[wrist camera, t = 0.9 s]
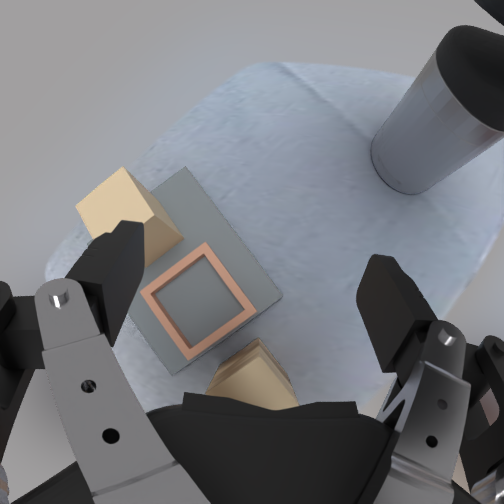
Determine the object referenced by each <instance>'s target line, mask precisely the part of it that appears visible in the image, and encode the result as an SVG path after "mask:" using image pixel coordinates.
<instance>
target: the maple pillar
mask: <svg viewBox="0 0 504 504" xmlns="http://www.w3.org/2000/svg"><path fill="white" fill-rule="evenodd" d="M206 395H211V396H220V397H229V398H232V399H235V400H239V401H242V402H245V403H249V404H252V405H256V406H259V407H263V408H267V409H271V410H281V409H287V408H292V407H296V406H300V405H299V403H298V400H297V398H296V395H295V393H294V390H293V388H292V385H291V383H290V380H289V378H288V375H287V373H286V372H285V371H284V370H283V368H282V367H281V366H280V364H279V363H278V362H277V361H276V359H275V358H274V357H273V356H272V354H271V353H270V352H269V350H268V349H267V348H266V346H265V345H264V344H263V343H262V341H261V340H260V339H259V337H258V338H257V339H256V340H254V341H253V342H252V343H250V344H249V345H247V346H246V347H245V348H243V349H242V350H240V351H239V352H238V353H236V354H235V355H233V356H232V357H230V358H229V359H228V360H226V361H225V362H223V363H222V364H220V366H219V368H218V369H217V371H216V373H215V375H214V377H213V379H212V381H211V383H210V385H209V387H208V389H207V391H206Z"/></svg>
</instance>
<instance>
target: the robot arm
mask: <svg viewBox="0 0 504 504" xmlns="http://www.w3.org/2000/svg"><path fill="white" fill-rule="evenodd" d="M474 1H475V2H476V3H477V4H478V5H479V6H480V7H482V8H483V9H484V10H485V11H487V12H488V13H489V14H490V15H491V16H492V17H493V18H495V19H496V20H497V21H498V22H499V23H501V24H502V25H503V26H504V0H474ZM502 138H504V36H503V35H499V34H496V33H493V32H490V31H487V30H484V29H481V28H478V27H474V26H468V25H462V26H457V27H454V28H452V29H451V30H450V31H449V32H448V33H447V34H446V35H445V37H444V38H443V39H442V41H441V42H440V44H439V45H438V47H437V49H436V50H435V51H434V53H433V54H432V56H431V57H430V59H429V60H428V62H427V63H426V65H425V66H424V68H423V69H422V71H421V72H420V74H419V75H418V76H417V78H416V79H415V81H414V82H413V84H412V85H411V87H410V88H409V89H408V91H407V92H406V94H405V95H404V96H403V98H402V99H401V101H400V102H399V104H398V105H397V106H396V108H395V109H394V111H393V112H392V113H391V115H390V116H389V118H388V119H387V120H386V122H385V123H384V124H383V126H382V127H381V129H380V130H379V131H378V133H377V134H376V135H375V137H374V139H373V141H372V146H371V156H372V160H373V164H374V166H375V168H376V171H377V172H378V174H379V175H380V177H381V178H382V179H383V180H384V181H385V182H386V183H387V184H388V185H389V186H391V187H392V188H393V189H395V190H397V191H399V192H402V193H406V194H418V193H421V192H423V191H425V190H427V189H429V188H430V187H432V186H433V185H435V184H436V183H438V182H439V181H441V180H443V179H444V178H446V177H447V176H449V175H450V174H452V173H453V172H455V171H456V170H458V169H459V168H461V167H462V166H464V165H465V164H467V163H468V162H469V161H471V160H472V159H474V158H475V157H477V156H478V155H480V154H481V153H483V152H484V151H486V150H487V149H488V148H490V147H491V146H493V145H494V144H495V143H497V142H498V141H500V140H501V139H502ZM144 267H145V250H144V224H143V223H142V222H136V221H128V220H121V221H120V222H119V223H118V225H117V226H116V227H115V229H114V230H113V231H112V232H111V233H108V232H105V233H103V234H102V235H100V236H98V237H97V238H95V239H94V240H93V241H92V242H91V244H90V245H89V246H88V249H86V250H85V251H84V253H83V254H82V256H80V258H79V259H78V260H77V262H76V263H75V264H74V266H73V267H72V268H71V270H70V271H69V272H68V274H67V275H66V276H65V278H60V279H54V280H51V281H49V282H47V283H45V284H43V285H42V286H41V287H40V288H39V289H38V290H37V292H36V294H35V296H20V297H19V296H18V297H13V295H12V292H11V289H10V287H9V285H8V284H7V283H5V282H2V281H0V504H9V501H8V495H9V488H8V480H7V476H6V472H5V470H4V468H3V466H2V465H1V462H2V458H3V455H4V452H5V448H6V445H7V442H8V439H9V436H10V433H11V430H12V427H13V424H14V421H15V419H16V416H17V413H18V411H19V408H20V405H21V403H22V400H23V398H24V395H25V393H26V390H27V387H28V385H29V383H30V380H31V378H32V376H33V373H34V371H35V369H46V373H47V376H48V380H49V384H50V387H51V390H52V394H53V397H54V400H55V404H56V407H57V410H58V413H59V416H60V419H61V421H62V424H63V427H64V430H65V432H66V435H67V438H68V440H69V443H70V445H71V448H72V450H73V453H74V455H75V457H76V460H77V461H75V462H74V463H72V464H71V465H69V466H68V467H67V468H65V469H63V470H62V471H61V472H59V473H58V474H56V475H55V476H53V477H52V478H50V479H49V480H47V481H46V482H44V483H42V484H41V485H39V486H38V487H36V488H35V489H33V490H31V491H30V492H28V493H27V494H25V495H24V496H22V497H20V498H18V499H17V500H15V501H14V502H12V503H11V504H504V342H503V341H502V340H501V339H499V338H497V337H495V336H491V335H489V336H486V337H485V339H484V340H483V341H482V343H481V344H480V345H479V346H476V345H472V344H469V343H466V339H465V337H464V335H463V334H462V332H461V331H460V330H459V329H458V328H457V327H455V326H454V325H453V324H451V323H449V322H446V321H443V320H438V319H437V317H436V315H435V314H434V312H433V311H432V309H431V307H430V306H429V304H428V303H427V301H426V299H425V298H423V297H424V296H423V295H422V293H421V292H420V291H419V289H418V287H417V285H416V284H415V282H414V281H413V280H412V279H411V278H410V277H409V276H408V275H407V274H406V273H404V272H403V270H402V269H401V267H400V266H399V264H398V263H397V261H396V260H395V259H394V257H391V256H385V255H378V254H373V255H372V256H371V258H370V259H369V262H368V264H367V267H366V270H365V272H364V275H363V277H362V280H361V282H360V285H359V287H358V290H357V295H356V303H357V307H358V309H359V312H360V314H361V317H362V319H363V322H364V324H365V327H366V329H367V332H368V335H369V337H370V340H371V342H372V345H373V348H374V351H375V353H376V356H377V359H378V361H379V364H380V367H381V370H382V373H393V372H396V373H397V377H396V378H395V379H394V381H393V383H392V385H391V387H390V389H389V392H388V394H387V396H386V398H385V400H384V402H383V405H382V407H381V409H380V411H379V413H378V415H377V417H376V419H374V418H371V417H369V416H366V415H363V414H358V410H357V406H356V402H355V401H350V402H315V403H310V404H306V405H301V406H296V407H292V408H287V409H281V410H271V409H267V408H263V407H259V406H256V405H252V404H249V403H245V402H242V401H239V400H235V399H232V398H229V397H220V396H211V395H202V394H195V393H187V392H184V397H183V404H179V405H171V406H166V407H162V408H158V409H155V410H152V411H149V412H147V413H145V412H144V410H143V408H142V407H141V405H140V403H139V401H138V400H137V398H136V396H135V394H134V392H133V391H132V389H131V387H130V385H129V383H128V381H127V379H126V377H125V375H124V373H123V371H122V369H121V367H120V365H119V363H118V361H117V359H116V357H115V355H114V353H113V351H112V349H111V347H113V346H114V344H115V341H116V339H117V336H118V334H119V332H120V329H121V327H122V324H123V322H124V319H125V317H126V315H127V312H128V310H129V308H130V305H131V303H132V301H133V298H134V296H135V294H136V292H137V289H138V287H139V285H140V283H141V280H142V278H143V274H144ZM490 388H491V389H492V392H493V394H494V396H495V398H496V400H497V403H498V405H499V410H500V411H499V416H498V418H497V420H496V421H495V422H494V423H493V424H492V425H491V426H490V425H489V423H488V420H487V418H486V415H485V413H484V410H483V408H482V405H481V403H480V401H479V400H480V399H481V398H482V397H483V396H484V395H485V394H486V392H487V391H488V390H489V389H490ZM458 453H460V457H461V460H462V464H463V467H464V471H465V475H466V479H467V482H468V486H469V490H470V494H469V493H468V492H466V491H465V490H464V489H463V488H462V487H460V486H459V485H458V484H457V483H455V482H454V481H453V480H452V476H453V472H454V468H455V465H456V461H457V457H458Z"/></svg>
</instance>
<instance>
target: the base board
mask: <svg viewBox="0 0 504 504" xmlns="http://www.w3.org/2000/svg"><path fill="white" fill-rule="evenodd" d="M76 208H77V210H78V212H79V213H80V216H81V217H82V219H83V221H84V223H85V225H86V227H87V229H88V231H89V233H90V234H91V236H92V238H93V239H92V240H91V241H90V242H89V243H88V244H87V245H88V246H89V245H90V244H91V242H92V241H93V240H94V239H95V238H97V237H98V236H100V235H102V234H103V233H105V232H108V233H111V232H112V231H113V230H114V229H115V227H116V226H117V225H118V223H119V222H120V221H121V220H128V221H136V222H142V223H143V224H144V250H145V267H144V274H143V278H142V280H141V283H140V285H139V287H138V289H137V292H136V294H135V296H134V298H133V301H132V303H131V305H130V308H129V310H128V314H129V316H130V317H131V319H132V320H133V322H134V323H135V325H136V326H137V328H138V329H139V331H140V332H141V334H142V335H143V336H144V338H145V339H146V341H147V342H148V344H149V345H150V346H151V348H152V349H153V351H154V352H155V353H156V355H157V356H158V358H159V359H160V360H161V362H162V363H163V364H164V366H165V367H166V368H167V370H168V371H169V372H170V374H171V375H174V374H175V373H177V372H178V371H180V370H181V369H183V368H184V367H186V366H187V365H189V364H190V363H191V362H193V361H194V360H196V359H197V358H199V357H200V356H202V355H203V354H204V353H206V352H207V351H209V350H210V349H212V348H213V347H214V346H216V345H217V344H219V343H220V342H221V341H223V340H224V339H226V338H227V337H228V336H230V335H231V334H233V333H234V332H235V331H237V330H238V329H240V328H241V327H242V326H244V325H245V324H246V323H248V322H249V321H251V320H252V319H253V318H255V317H256V316H257V315H259V314H260V313H261V312H263V311H264V310H265V309H267V308H268V307H269V306H271V305H272V304H273V303H275V302H276V301H277V300H279V299H280V298H281V297H283V295H282V294H281V292H280V291H279V290H278V288H277V287H276V286H275V284H274V283H273V282H272V280H271V279H270V278H269V276H268V275H267V274H266V272H265V271H264V270H263V268H262V267H261V266H260V264H259V263H258V262H257V260H256V259H255V258H254V256H253V255H252V254H251V252H250V251H249V250H248V248H247V247H246V246H245V244H244V243H243V242H242V240H241V239H240V238H239V236H238V235H237V234H236V232H235V231H234V230H233V228H232V227H231V226H230V224H229V223H228V222H227V220H226V219H225V218H224V216H223V215H222V214H221V212H220V211H219V210H218V208H217V207H216V206H215V204H214V203H213V202H212V200H211V199H210V198H209V197H208V195H207V194H206V193H205V191H204V190H203V189H202V187H201V186H200V185H199V183H198V182H197V181H196V179H195V178H194V177H193V175H192V174H191V173H190V171H189V170H188V169H187V167H186V166H185V167H184V168H182V169H181V170H180V171H178V172H177V173H175V174H174V175H173V176H171V177H170V178H169V179H167V180H166V181H165V182H163V183H162V184H161V185H159V186H158V187H157V188H155V189H154V190H153V191H151V192H149V191H148V190H147V189H146V188H145V187H144V186H143V185H142V184H141V183H140V182H139V181H138V180H137V179H136V178H134V177H133V176H132V175H131V174H130V173H129V172H128V171H127V170H126V169H125V168H124V167H121V168H120V169H119V170H118V171H116V172H115V173H114V174H113V175H111V176H110V177H109V178H108V179H106V180H105V181H104V182H103V183H102V184H100V185H99V186H98V187H97V188H96V189H94V191H92V192H91V193H90V194H89V195H87V196H86V197H85V198H84V199H83V200H82V201H81V202H79V203H78V204H77V205H76Z"/></svg>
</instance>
